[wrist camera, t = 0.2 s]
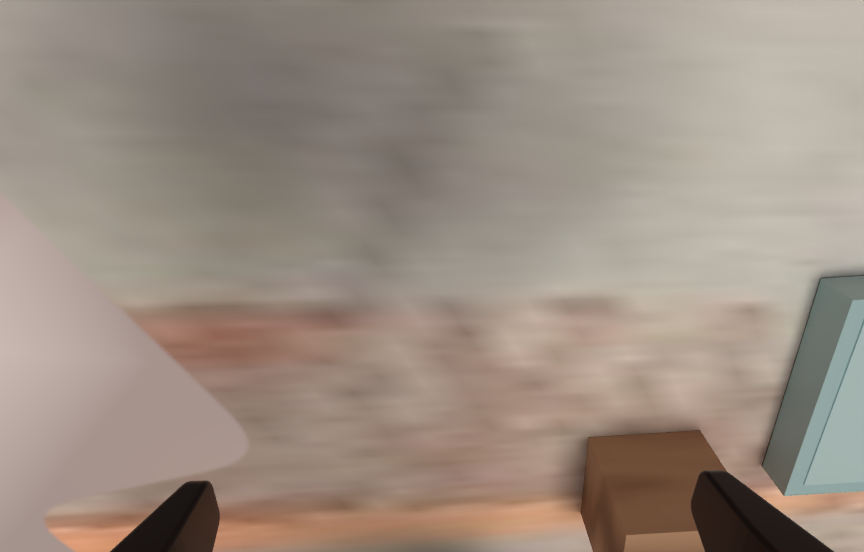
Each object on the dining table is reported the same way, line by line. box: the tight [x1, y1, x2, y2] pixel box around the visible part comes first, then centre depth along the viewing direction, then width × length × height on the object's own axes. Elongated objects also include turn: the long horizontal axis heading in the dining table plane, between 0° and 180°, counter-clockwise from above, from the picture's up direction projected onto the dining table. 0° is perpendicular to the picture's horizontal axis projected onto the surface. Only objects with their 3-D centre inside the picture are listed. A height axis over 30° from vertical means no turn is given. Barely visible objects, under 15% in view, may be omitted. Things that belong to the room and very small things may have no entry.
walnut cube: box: [581, 430, 727, 552], centre depth 27 cm, size 6×6×6 cm
